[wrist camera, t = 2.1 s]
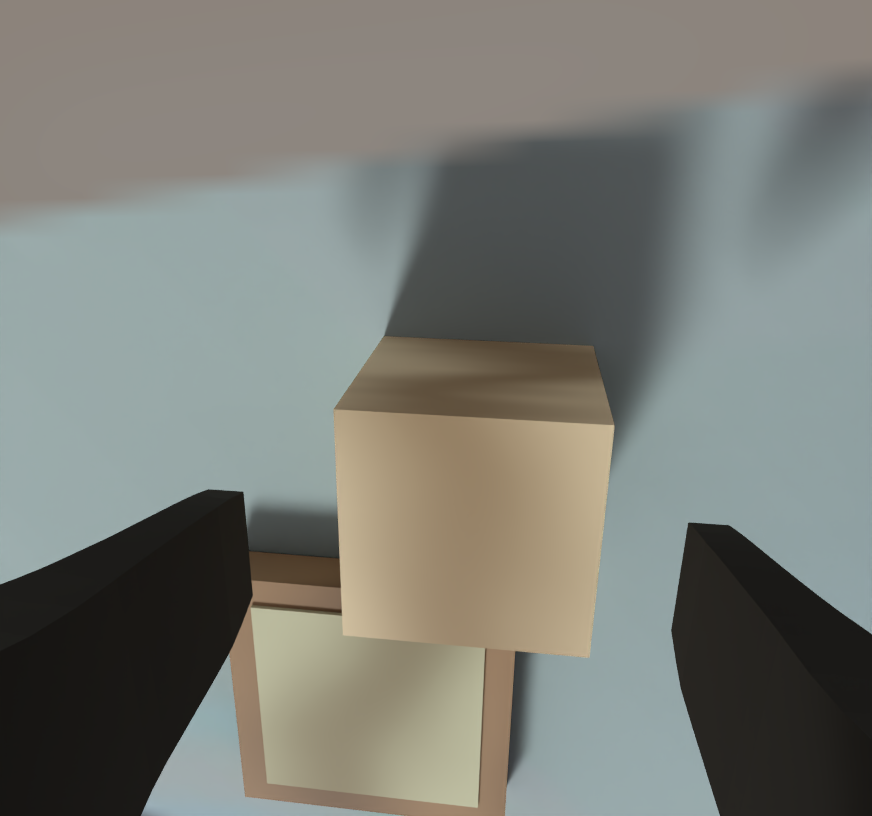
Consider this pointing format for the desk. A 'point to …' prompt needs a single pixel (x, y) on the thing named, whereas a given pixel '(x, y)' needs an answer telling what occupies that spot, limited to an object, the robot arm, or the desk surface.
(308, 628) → the brown framed square tile
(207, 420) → the desk surface
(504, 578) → the birch cube
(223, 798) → the desk surface
